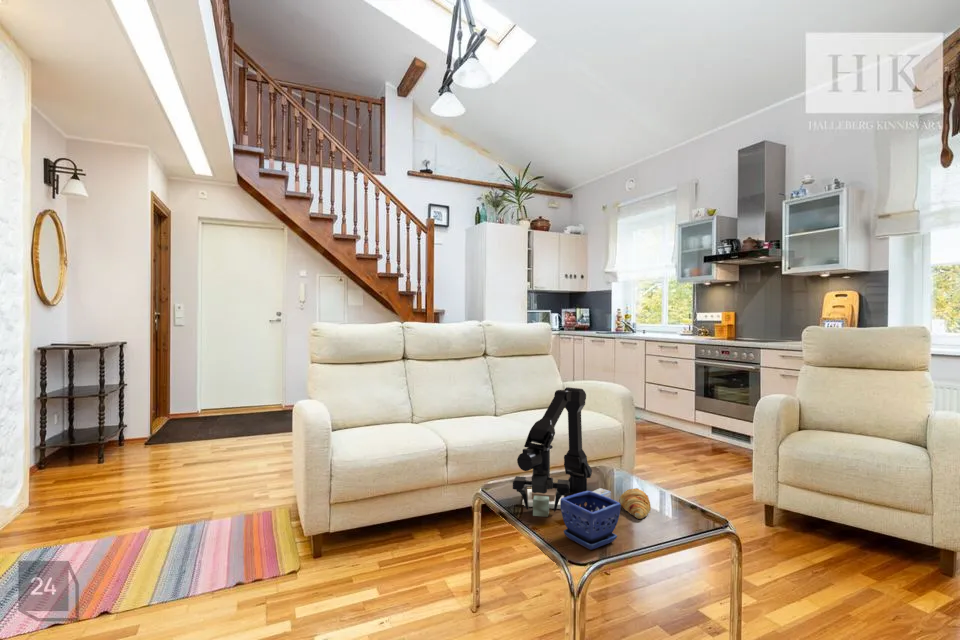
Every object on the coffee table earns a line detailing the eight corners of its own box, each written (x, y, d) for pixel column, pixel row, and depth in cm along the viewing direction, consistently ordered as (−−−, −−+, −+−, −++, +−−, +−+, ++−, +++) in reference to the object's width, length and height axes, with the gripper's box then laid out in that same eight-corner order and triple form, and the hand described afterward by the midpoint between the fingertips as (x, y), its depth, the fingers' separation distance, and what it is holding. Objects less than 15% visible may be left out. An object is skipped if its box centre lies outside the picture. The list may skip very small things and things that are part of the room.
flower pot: (622, 542, 144) (623, 502, 143) (591, 555, 136) (592, 512, 136) (588, 527, 154) (588, 489, 154) (558, 537, 147) (558, 498, 147)
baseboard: (564, 495, 182) (564, 485, 182) (562, 509, 168) (562, 499, 168) (526, 492, 185) (527, 482, 185) (522, 505, 171) (522, 495, 171)
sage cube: (549, 511, 167) (549, 496, 167) (547, 517, 162) (548, 502, 162) (534, 510, 168) (534, 495, 168) (532, 515, 163) (532, 500, 163)
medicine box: (599, 513, 165) (599, 487, 165) (611, 517, 162) (611, 490, 162) (586, 519, 160) (586, 493, 160) (598, 524, 157) (598, 496, 157)
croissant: (649, 532, 158) (661, 511, 158) (621, 516, 159) (633, 495, 159) (637, 506, 179) (648, 487, 179) (612, 492, 180) (623, 473, 180)
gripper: (510, 469, 159) (509, 517, 159) (568, 473, 155) (568, 522, 155) (515, 459, 170) (514, 504, 170) (569, 463, 166) (569, 509, 166)
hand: (541, 510), depth 165 cm, fingers open, 9 cm apart
